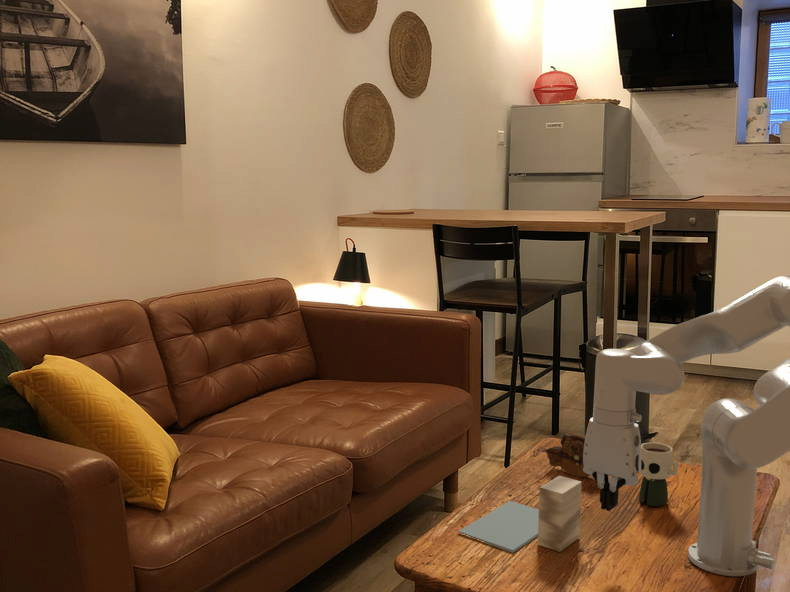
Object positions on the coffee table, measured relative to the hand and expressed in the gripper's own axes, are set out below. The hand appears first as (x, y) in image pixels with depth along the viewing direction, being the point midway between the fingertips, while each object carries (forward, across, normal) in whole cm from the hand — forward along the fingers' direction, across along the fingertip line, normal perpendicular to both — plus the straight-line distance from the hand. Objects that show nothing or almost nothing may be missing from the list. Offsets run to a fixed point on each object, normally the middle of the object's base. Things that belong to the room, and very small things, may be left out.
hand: (608, 507), depth 156 cm
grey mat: (+10, +21, 0) cm, 24 cm away
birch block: (+10, +10, 0) cm, 14 cm away
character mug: (+10, +3, -31) cm, 33 cm away
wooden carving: (+10, +24, -35) cm, 44 cm away
